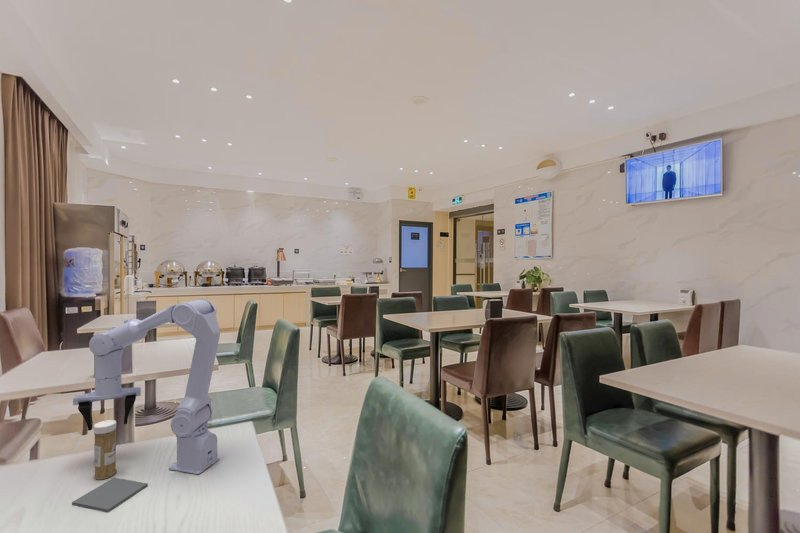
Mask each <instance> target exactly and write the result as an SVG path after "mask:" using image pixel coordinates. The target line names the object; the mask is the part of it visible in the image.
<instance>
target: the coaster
mask: <svg viewBox="0 0 800 533" xmlns="http://www.w3.org/2000/svg"><path fill="white" fill-rule="evenodd" d="M148 483H149V482H148ZM148 483H146V482H142V481H136V480H131V479H126V478H125V479H124V478H119V477H113V478H111V479H109V480H107V481H106V482H104V483H102V484H100V485H99V486H97V487H96V488H93V489H92V490H90V491H88V492H87V493H85V494H84V495H81V496H80V497H79V498H77V499H74V500H73V501H71V505H72V506H77V507H81V508H85V509H91V510H95V511H100V512H104V513H105V512H106V513H109V512H111V511H112V510H114V509H115V508H117V507H119V506H120V505H121V504H123V503H124V502H126V501H128V500H129V499H130V498H132V497H133V496H135V495H136V494H138V493H139V492H141V491H142V490H144V489H145V488H147V487H148V485H149V484H148Z"/></svg>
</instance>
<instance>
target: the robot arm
mask: <svg viewBox="0 0 800 533" xmlns="http://www.w3.org/2000/svg"><path fill="white" fill-rule="evenodd" d="M217 311H218V310H217V308H216V306H214V304H213V303H212V302H211V301H210V300H208V299H206V298H198V299H195V300H191V301H186V302H179V303H177V304H172V305H169V306H167V307H165V308H163V309H160V310H159V311H157V312H156V313H154V314H151V315H150V316H148V317H146V318H144V319H142V320H141V319H138V318H133V319H132V318H128V319H125V320H124V321H123V323H122V324H120V325H118V326H112V327H109V328H108V331H106V332H99V333H96V334H95V335H93V336H92V337H91V338H90V340H89V344H88V347H89V351H90V352H91V353H92V354H94V391H92V392H88V393H83V394H78V395H74V396H73V398H72V406H77V405H78V408H77V410H78V411H79V413H80V414H81V416H82V417H83V419H84V421H85V423H86V426H87V430H88V431H92V429H93V427H94V426H93V423H94V422H93V415H92V414H93V402H94V403H95V402H100V401H101V402H102V401H108V400H113V399H122V398H124V418H123V424H124V425H127V424H128V420H129V415H130V413H131V410H132V408H133V405H134V404H135V402H136V400H137V397H140V396H141V395H142V387H141V386H136V387H122V356H123V355H124V349H125V348H126V347H128V346H129V345H131V344H134V343H137V342H138V341H140V340H143V339H144V338H146V337H147V335H148V331H151V330H154V329H155V328H158V327H160V326H162V325H165V324H168V323H170V324H175V325H177V326H178V327H180V328H181V329H183V330H185V331H186V332H187V333H189V334H190V335H192V336H193V337H194V338H195V344H194V350H193V355H192V359H191V364H190V370H189V374H188V379H187V384H186V389H185V395H184V398H183V399H182V400H181V402H180V404H178V406H177V408H176V412H175V415H174V416H173V417H172V418H171V422H170V429H171V431H172V433H173V434H174V435H175V438H176V462H174V463H173V464H171V465H169V466H168V470H171V471H177V472H184V473H188V474H194V475H199V474H200V475H201V473H202V472H204V471H205V470H207V469H208V468H209V467H210V466H212V465H213V464H215V463H216V462H217V461H218V460H219V459H220V457H219V456H218V437H217V435H216V434H215V433H214V432H211V431H210V430H209V429H208V422H209V420H211V418H212V416H213V408H212V401H213V399H212V398H211V397H210V396H209V390H210V385H211V380H212V376H213V371H214V365H215V361H216V360H215V359H216V355H217V350H218V347H219V342H220V337H221V332H220V327H219V322H218V318H217V316H216V315H217Z"/></svg>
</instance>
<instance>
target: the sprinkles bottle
mask: <svg viewBox="0 0 800 533" xmlns="http://www.w3.org/2000/svg"><path fill="white" fill-rule="evenodd" d="M116 430H117V420H115V419H106V420H102V421H98V422H97V423H95V424H94V426H93V434H94V445H93V447H94V448H93V452H94V453H93V454H94V455H93V457H94V458H93V459H94V461H93V462H94V475H93V478H94V479H95V480H99V481H100V480H105V479H109V478H111V477H113V476H114V475H115V474H116V473H117V469H116V468H117V467H116V466H117V465H116V462H117V453H116V452H117V442H116V441H117V440H116Z"/></svg>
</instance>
